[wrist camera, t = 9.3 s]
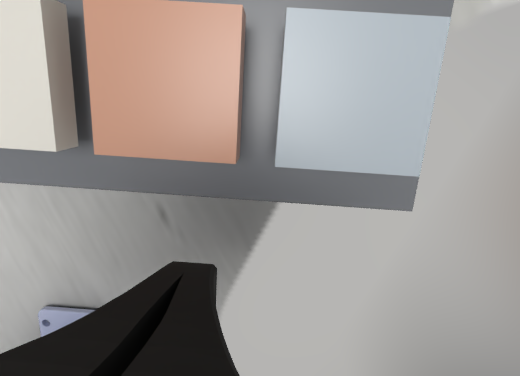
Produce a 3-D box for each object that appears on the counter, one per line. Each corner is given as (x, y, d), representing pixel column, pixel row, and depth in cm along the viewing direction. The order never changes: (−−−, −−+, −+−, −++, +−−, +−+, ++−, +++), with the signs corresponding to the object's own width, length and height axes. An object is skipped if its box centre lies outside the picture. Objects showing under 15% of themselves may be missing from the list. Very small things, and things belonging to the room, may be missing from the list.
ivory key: (110, 138, 17) (56, 151, 13) (6, 131, 17) (-83, 142, 13) (103, 22, 15) (39, -7, 11) (-11, 15, 16) (-118, -17, 11)
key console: (390, 193, 18) (412, 211, 16) (7, 167, 19) (-40, 179, 16) (424, -5, 16) (459, -28, 13) (-22, -31, 16) (-86, -59, 13)
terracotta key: (245, 147, 17) (235, 164, 12) (139, 140, 17) (94, 154, 13) (250, 30, 15) (242, 5, 11) (134, 23, 15) (82, -5, 11)
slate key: (381, 156, 17) (419, 176, 12) (274, 149, 17) (274, 166, 12) (400, 39, 15) (451, 16, 11) (282, 32, 15) (286, 7, 11)
